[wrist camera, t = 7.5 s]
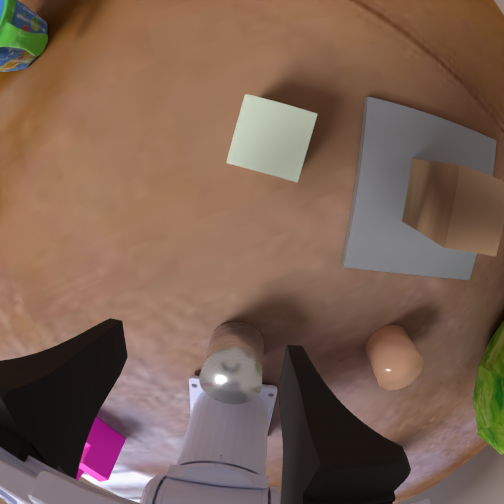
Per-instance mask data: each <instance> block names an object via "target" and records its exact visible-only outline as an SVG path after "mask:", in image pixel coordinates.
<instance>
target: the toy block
mask: <svg viewBox="0 0 504 504" xmlns="http://www.w3.org/2000/svg"><path fill="white" fill-rule="evenodd" d="M125 440H126V438H124V437H123V436H121V435H120V434H118V433H117V432H116V431H114V430H113V429H112V428H110V427H109V426H107V425H106V424H105V423H104V422H102V421H101V420H100V419H98V418H97V417H96V418H95V420H94V423H93V425H92V428H91V430H90V433H89V436H88V438H87V441H86V444H85V447H84V450H83V454H82V457H81V461H80V465H79V469H78V474H77V478H76V480H79V478H80V477H81V475H82V474H83V473H84V472H86V473H87V474H89V475H90V476H92V477H93V478H95V479H96V480H98V481H105V480H108V479H109V477H110V474H111V472H112V470H113V467H114V465H115V463H116V460H117V458H118V456H119V453H120V451H121V449H122V447H123V444H124V442H125Z"/></svg>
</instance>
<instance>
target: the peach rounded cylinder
mask: <svg viewBox="0 0 504 504" xmlns="http://www.w3.org/2000/svg"><path fill="white" fill-rule="evenodd" d="M366 354H367V356H368V359H369V361H370V364H371V366H372V369H373V371H374V374H375V376H376V379H377V382H378V384H379V386H380V387H381V388H383V389H385V390H398V389H401V388H404V387H406V386H408V385H409V384H411V383H412V382H413V381H414V380H415V379H416V378H417V377H418V376H419V375H420V373H421V371H422V369H423V359H422V357H421V355H420V354H419V352H418V351H417V349H416V347H415V346H414V344H413V343H412V341H411V339H410V338H409V336H408V335H407V333H406V332H405V330H404V329H403V328H402V327H400V326H398V325H388V326H384V327H382V328H380V329H378V330H377V331H375V332H374V333H373V334H372V335H371V336H370V338H369V339H368V341H367V343H366Z"/></svg>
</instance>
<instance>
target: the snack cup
mask: <svg viewBox="0 0 504 504" xmlns="http://www.w3.org/2000/svg"><path fill="white" fill-rule="evenodd" d="M47 26H48V24H47V22H46V21H45V20H44V19H42V18H41V17H40V16H39V15H37V14H36V13H35V12H33V11H31V10H30V9H29V8H28V7H26V6H25V5H24V4H22V3H21V2H19V1H17V0H0V72H1V71H17V70H22V69H25V68H27V67H28V66H29V64H31V63H32V62H33V61H34V60H35V58H36V57H37V56H39V55H40V54H41V53H42V52H43V51H44V49H45V46H46V44H47V42H48V35H47V32H48V29H47Z"/></svg>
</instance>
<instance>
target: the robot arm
mask: <svg viewBox="0 0 504 504" xmlns="http://www.w3.org/2000/svg"><path fill="white" fill-rule="evenodd" d="M127 357H128V356H127V350H126V344H125V338H124V331H123V324H122V321H120V320H116V319H111V318H110V319H108V320H106V321H104V322H102V323H100V324H98V325H96V326H94V327H92V328H91V329H89V330H87V331H85V332H83V333H81V334H79V335H78V336H76V337H74V338H72V339H70V340H67V341H65V342H63V343H61V344H59V345H57V346H55V347H52V348H50V349H47V350H44V351H41V352H39V353H35V354H32V355H28V356H24V357H20V358H15V359H10V360H3V361H0V497H1V498H2V499H3V500H5V501H6V502H7V503H9V504H393V503H392V502H394V501H395V494H394V491H395V490H396V489H397V488H398V487H399V486H400V485H401V484H402V483H403V482H404V481H405V479H406V478H407V477H408V475H409V474H410V471H411V468H410V465H409V462H408V459H407V456H406V454H405V452H404V449H403V447H402V446H400V445H398V444H396V443H394V442H392V441H390V440H388V439H387V438H385V437H383V436H381V435H380V434H378V433H377V432H375V431H374V430H372V429H371V428H369V427H368V426H367V425H365V424H364V423H363V422H362V421H360V420H359V419H358V418H357V417H356V416H354V415H353V414H352V413H351V412H350V411H349V410H348V409H347V408H346V407H345V406H344V405H343V404H342V403H341V402H340V401H339V400H338V399H337V398H336V396H335V395H334V394H333V393H332V391H331V390H330V389H329V388H328V386H327V385H326V384H325V382H324V381H323V379H322V378H321V376H320V375H319V374H318V372H317V371H316V369H315V367H314V366H313V364H312V362H311V361H310V359H309V357H308V355H307V354H306V352H305V350H304V348H303V347H302V346H294V345H287V349H286V354H285V359H284V363H283V368H282V373H281V378H280V391H279V404H280V415H281V426H282V437H283V471H282V488H281V491H279V490H278V488H277V487H269V491H268V476H267V475H266V459H267V434H268V430H269V426H270V422H271V417H272V413H273V409H274V404H275V400H276V396H277V387H276V386H273V385H263V384H262V388H261V391H260V393H259V394H258V396H257V397H256V398H254V399H253V400H251V401H249V402H246V403H242V404H226V403H222V402H219V401H217V400H214V399H213V398H211V397H209V396H208V395H207V394H206V393H205V392H204V391H203V389H202V388H201V386H200V383H199V376H191V377H190V379H189V390H190V408H191V416H190V420H189V423H188V427H187V430H186V434H185V437H184V441H183V444H182V448H181V452H180V455H179V459H178V462H177V465H170V466H169V470H168V473H167V475H165V474H158V475H157V476H155V477H154V478H153V479H151V480H150V481H149V482H148V483H147V485H146V487H145V489H144V491H143V494H142V497H141V501H140V503H138V502H134V501H131V500H128V499H125V498H122V497H119V496H116V495H113V494H110V493H108V492H105V491H102V490H100V489H97V488H95V487H92V486H90V485H87V484H85V483H83V482H80V481H78V480H76V478H77V474H78V469H79V465H80V461H81V457H82V454H83V450H84V447H85V444H86V441H87V438H88V436H89V433H90V430H91V428H92V425H93V423H94V420H95V418H96V415H97V413H98V411H99V410H100V408H101V406H102V404H103V403H104V401H105V399H106V398H107V396H108V394H109V392H110V391H111V389H112V387H113V386H114V384H115V382H116V381H117V379H118V377H119V376H120V374H121V371H122V369H123V367H124V364H125V362H126V359H127ZM194 384H196V385H194ZM270 393H272V394H270ZM408 504H430V501H429V499H423V500H420V501H416V502H412V503H408Z"/></svg>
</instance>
